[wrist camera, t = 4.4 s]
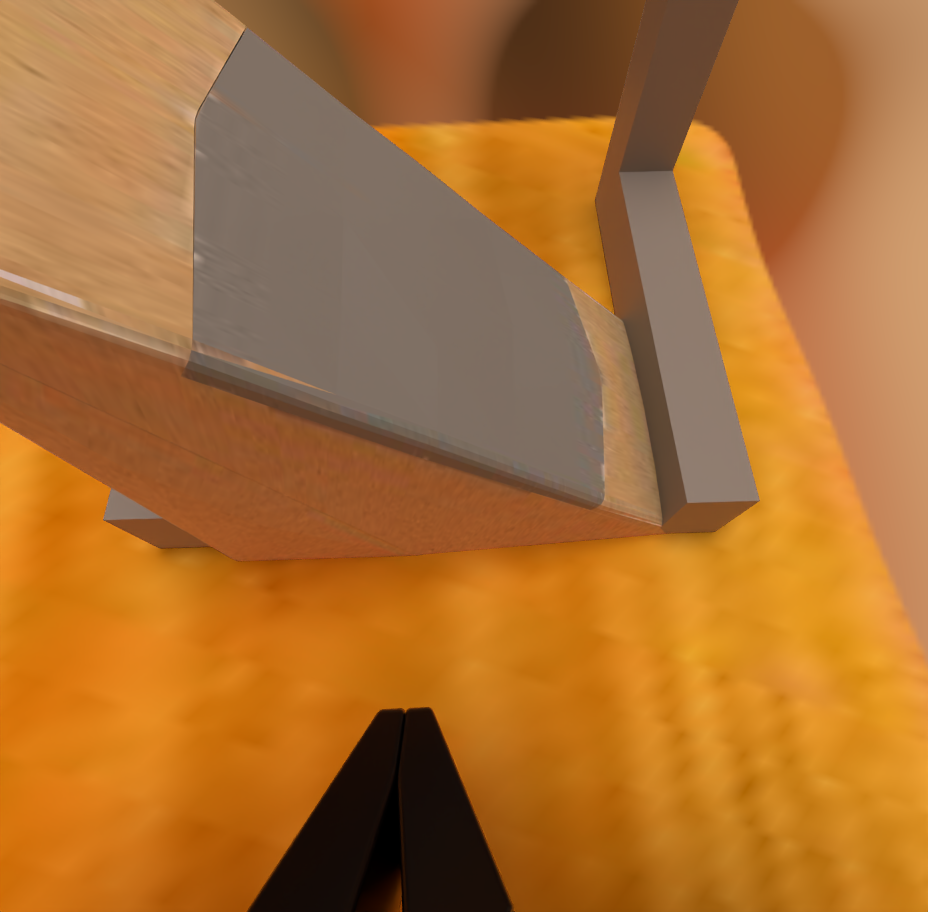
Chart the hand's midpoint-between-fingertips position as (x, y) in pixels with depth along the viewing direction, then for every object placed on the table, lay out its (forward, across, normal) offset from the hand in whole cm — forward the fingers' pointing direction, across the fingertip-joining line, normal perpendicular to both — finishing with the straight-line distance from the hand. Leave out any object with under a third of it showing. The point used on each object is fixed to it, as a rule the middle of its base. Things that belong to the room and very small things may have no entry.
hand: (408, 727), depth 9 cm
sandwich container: (+12, -1, 0) cm, 12 cm away
